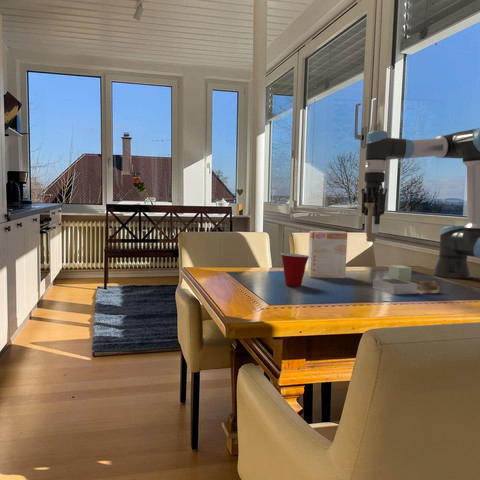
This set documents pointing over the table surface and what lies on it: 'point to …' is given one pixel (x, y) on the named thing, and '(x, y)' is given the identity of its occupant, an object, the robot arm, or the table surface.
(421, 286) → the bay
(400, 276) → the pale green cube
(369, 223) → the handle
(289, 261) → the plastic cup
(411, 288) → the winch housing
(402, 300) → the table surface
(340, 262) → the coffeecake box
